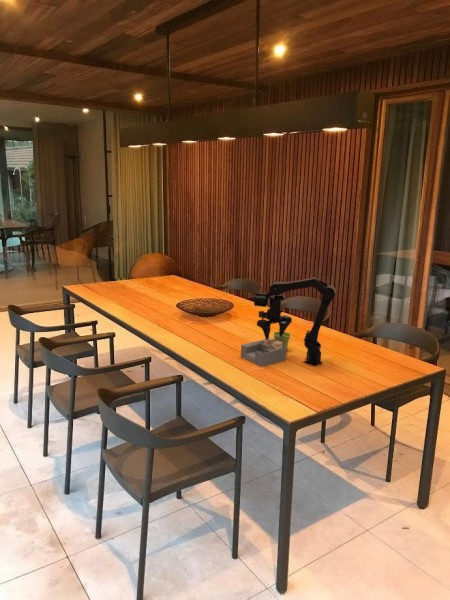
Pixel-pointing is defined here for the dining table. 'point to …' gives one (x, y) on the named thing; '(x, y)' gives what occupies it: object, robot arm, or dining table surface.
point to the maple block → (273, 343)
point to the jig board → (262, 353)
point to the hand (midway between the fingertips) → (273, 338)
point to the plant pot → (282, 338)
